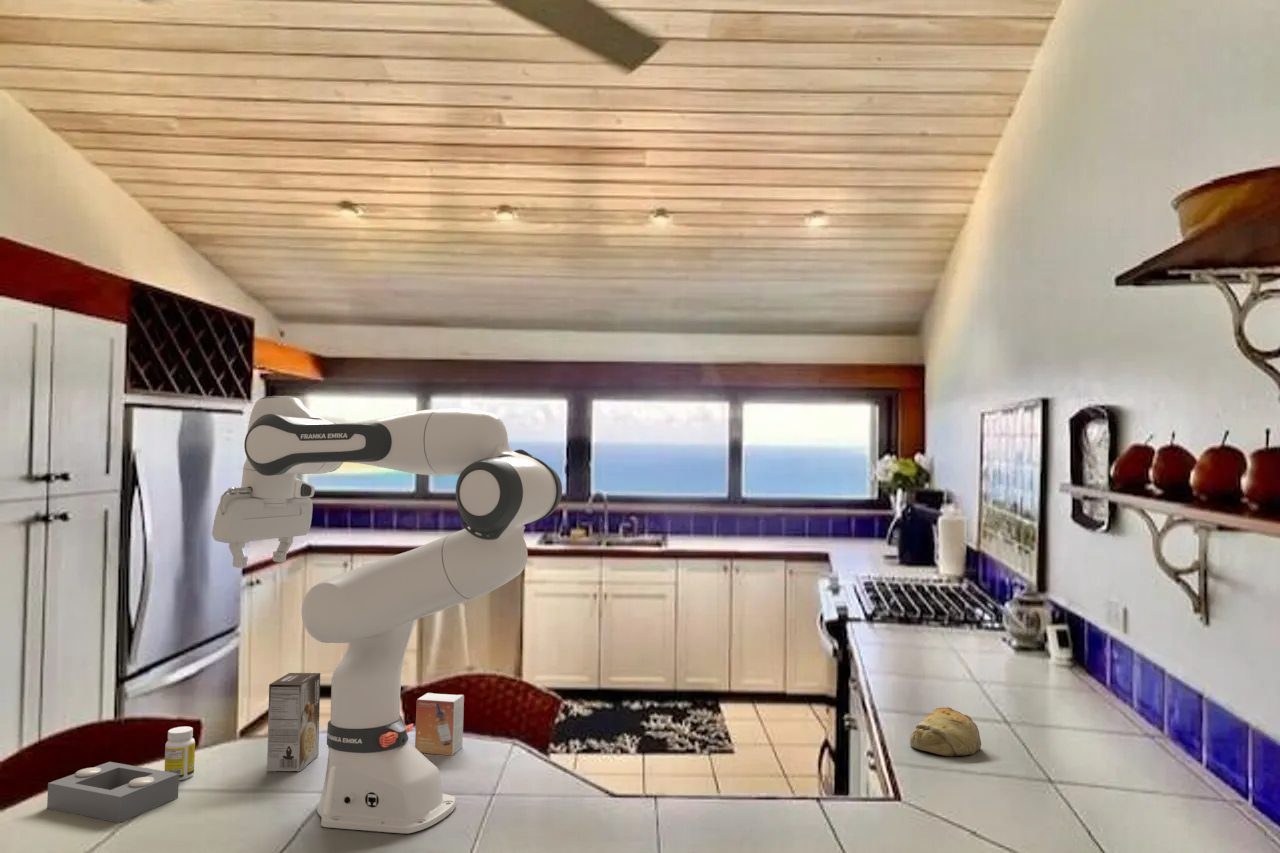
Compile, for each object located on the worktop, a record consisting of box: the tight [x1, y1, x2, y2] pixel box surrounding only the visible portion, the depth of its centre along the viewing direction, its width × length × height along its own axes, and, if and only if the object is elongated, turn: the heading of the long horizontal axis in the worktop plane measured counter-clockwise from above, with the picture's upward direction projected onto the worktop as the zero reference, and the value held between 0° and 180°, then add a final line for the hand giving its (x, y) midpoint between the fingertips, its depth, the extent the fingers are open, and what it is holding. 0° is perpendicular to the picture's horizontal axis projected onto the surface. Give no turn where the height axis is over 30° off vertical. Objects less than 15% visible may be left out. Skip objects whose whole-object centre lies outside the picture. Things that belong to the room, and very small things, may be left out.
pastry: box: [909, 706, 982, 757], centre depth 178 cm, size 14×12×8 cm
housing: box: [46, 761, 180, 824], centre depth 144 cm, size 16×11×4 cm
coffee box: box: [266, 672, 322, 772], centre depth 164 cm, size 9×6×16 cm
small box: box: [414, 692, 465, 757], centre depth 173 cm, size 8×6×10 cm
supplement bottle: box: [164, 726, 196, 782], centre depth 156 cm, size 5×5×8 cm
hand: (259, 564), depth 154 cm, fingers open, 8 cm apart
